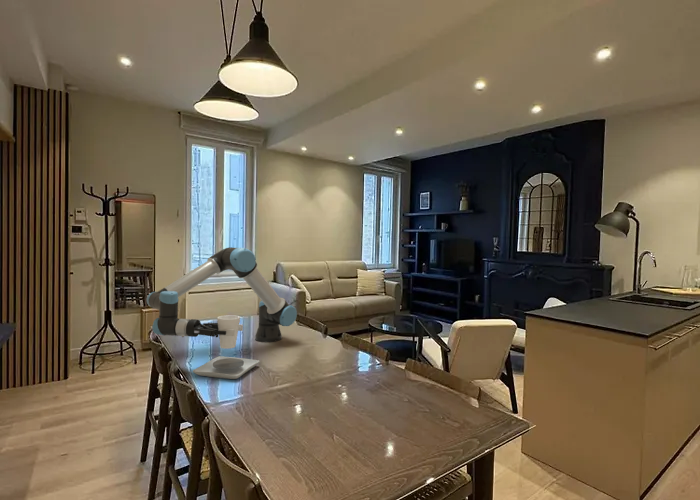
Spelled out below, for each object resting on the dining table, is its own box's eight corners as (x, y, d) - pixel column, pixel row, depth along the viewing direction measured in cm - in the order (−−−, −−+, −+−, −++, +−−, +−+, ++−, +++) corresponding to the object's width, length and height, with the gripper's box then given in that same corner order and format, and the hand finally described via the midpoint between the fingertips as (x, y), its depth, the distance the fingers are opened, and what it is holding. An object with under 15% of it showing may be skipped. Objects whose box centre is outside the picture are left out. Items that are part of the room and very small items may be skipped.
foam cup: (242, 344, 172) (243, 315, 172) (234, 350, 163) (234, 319, 163) (222, 343, 173) (223, 314, 173) (212, 348, 164) (213, 318, 164)
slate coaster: (237, 358, 177) (237, 356, 177) (248, 366, 167) (248, 364, 167) (208, 362, 169) (209, 360, 169) (218, 371, 159) (218, 369, 159)
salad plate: (237, 383, 156) (238, 374, 155) (191, 378, 160) (191, 370, 160) (260, 367, 176) (260, 359, 176) (218, 362, 181) (218, 355, 180)
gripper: (200, 330, 181) (246, 332, 179) (175, 342, 159) (228, 345, 157) (201, 314, 180) (247, 317, 179) (176, 324, 158) (228, 327, 157)
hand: (238, 330), depth 168 cm, fingers closed on foam cup, 9 cm apart
